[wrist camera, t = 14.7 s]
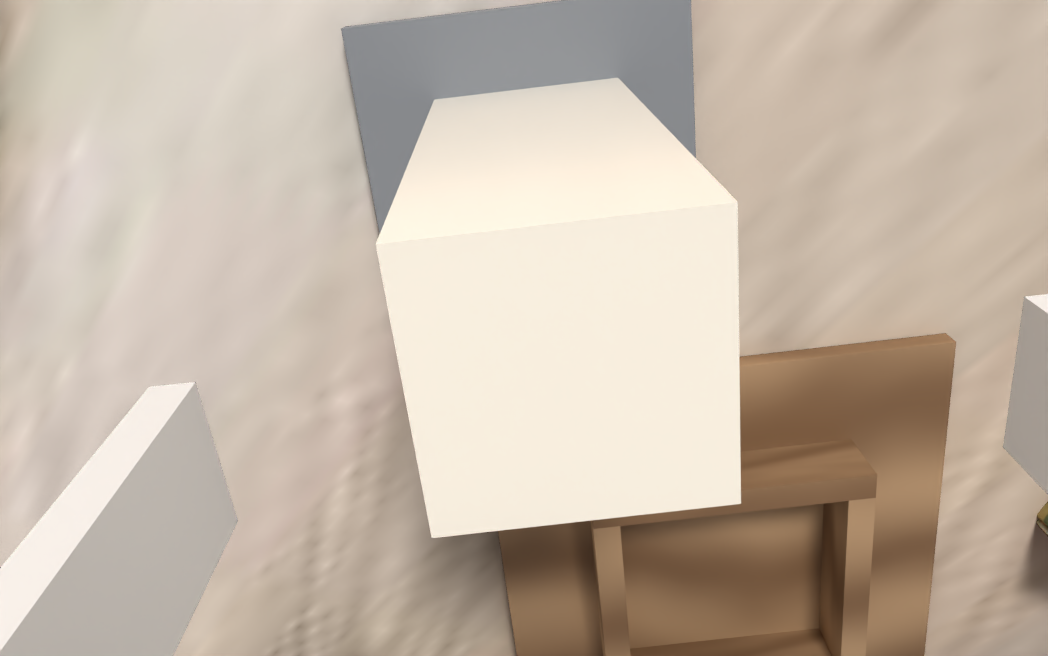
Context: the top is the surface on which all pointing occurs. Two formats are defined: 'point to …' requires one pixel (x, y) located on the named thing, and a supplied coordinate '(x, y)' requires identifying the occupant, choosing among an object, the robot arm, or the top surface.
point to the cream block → (563, 312)
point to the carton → (1043, 519)
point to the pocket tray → (768, 526)
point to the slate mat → (512, 67)
